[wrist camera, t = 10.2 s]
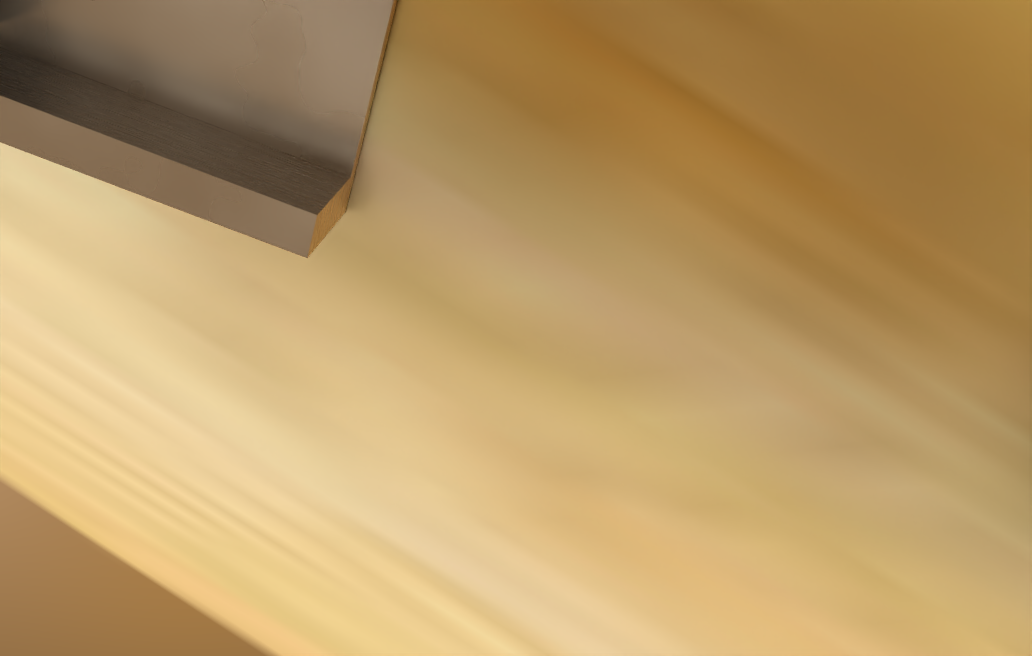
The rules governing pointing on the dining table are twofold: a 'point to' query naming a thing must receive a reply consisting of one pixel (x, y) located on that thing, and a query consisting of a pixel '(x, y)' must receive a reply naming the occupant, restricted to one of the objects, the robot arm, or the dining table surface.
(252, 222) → the track
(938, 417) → the dining table surface
